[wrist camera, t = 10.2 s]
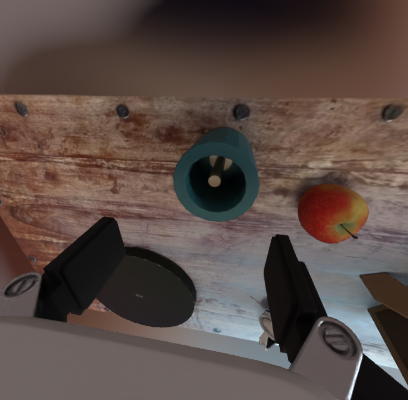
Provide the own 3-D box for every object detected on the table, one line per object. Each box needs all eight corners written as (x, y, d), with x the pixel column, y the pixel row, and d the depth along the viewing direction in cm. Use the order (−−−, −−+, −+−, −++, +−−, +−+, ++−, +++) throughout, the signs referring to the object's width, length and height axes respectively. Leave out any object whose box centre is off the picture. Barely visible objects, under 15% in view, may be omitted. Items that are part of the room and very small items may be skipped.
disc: (197, 256, 41) (194, 266, 38) (195, 325, 55) (193, 336, 53) (81, 238, 45) (71, 246, 42) (108, 307, 59) (102, 316, 57)
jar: (195, 126, 27) (170, 140, 17) (255, 128, 26) (266, 144, 16) (196, 180, 32) (176, 217, 21) (247, 184, 30) (252, 225, 20)
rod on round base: (210, 146, 28) (198, 165, 19) (233, 146, 27) (231, 166, 19) (210, 168, 30) (198, 194, 21) (232, 169, 29) (229, 196, 20)
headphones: (300, 279, 38) (286, 326, 48) (252, 273, 40) (248, 320, 50) (312, 320, 31) (293, 365, 41) (254, 310, 33) (248, 356, 43)
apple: (306, 167, 28) (338, 197, 19) (356, 184, 27) (411, 221, 19) (281, 209, 32) (298, 248, 23) (325, 223, 31) (358, 268, 23)
